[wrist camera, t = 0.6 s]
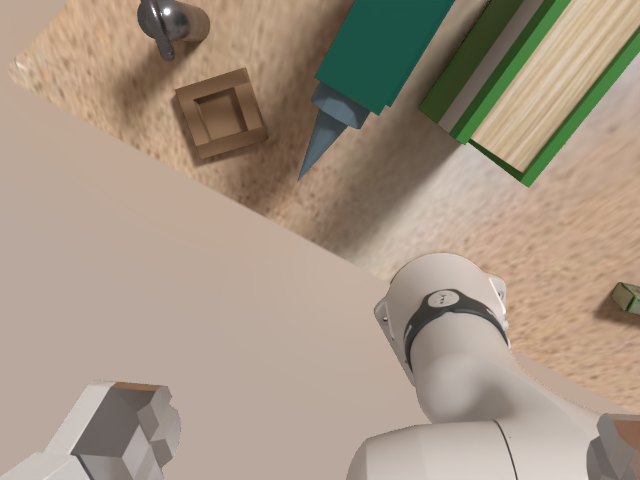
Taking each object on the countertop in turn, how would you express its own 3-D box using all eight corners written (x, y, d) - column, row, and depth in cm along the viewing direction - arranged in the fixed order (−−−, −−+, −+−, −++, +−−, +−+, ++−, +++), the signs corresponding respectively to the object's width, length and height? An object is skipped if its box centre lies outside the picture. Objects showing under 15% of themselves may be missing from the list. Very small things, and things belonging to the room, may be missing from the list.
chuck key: (221, 54, 61) (186, 55, 48) (191, 64, 61) (150, 67, 49) (196, -18, 58) (153, -38, 45) (165, -8, 59) (115, -24, 46)
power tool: (335, 165, 65) (328, 210, 46) (289, 138, 64) (263, 173, 45) (481, -82, 54) (548, -153, 35) (427, -118, 53) (467, -211, 34)
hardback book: (465, 139, 63) (528, 187, 40) (418, 108, 62) (455, 139, 39) (560, 10, 57) (696, -19, 34) (509, -28, 56) (615, -83, 33)
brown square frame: (268, 137, 64) (266, 140, 62) (205, 156, 65) (200, 159, 64) (245, 67, 61) (242, 68, 59) (180, 88, 62) (174, 89, 61)
